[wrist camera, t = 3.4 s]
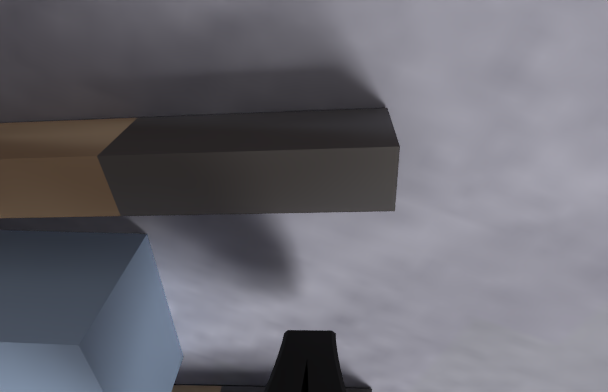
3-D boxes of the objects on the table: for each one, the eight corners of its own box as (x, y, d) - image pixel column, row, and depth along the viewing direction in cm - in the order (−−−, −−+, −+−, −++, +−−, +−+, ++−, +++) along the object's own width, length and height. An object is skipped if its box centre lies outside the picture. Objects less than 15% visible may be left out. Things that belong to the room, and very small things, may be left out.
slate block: (185, 352, 15) (144, 469, 12) (35, 345, 15) (-46, 458, 12) (149, 230, 12) (78, 345, 9) (-41, 225, 12) (-180, 334, 9)
